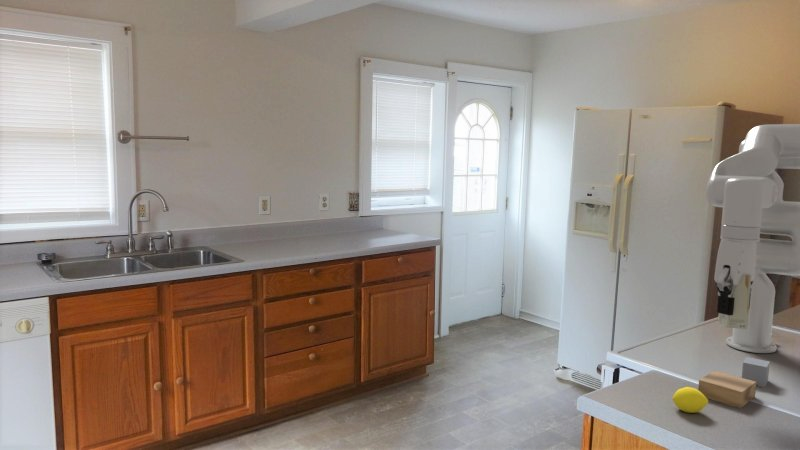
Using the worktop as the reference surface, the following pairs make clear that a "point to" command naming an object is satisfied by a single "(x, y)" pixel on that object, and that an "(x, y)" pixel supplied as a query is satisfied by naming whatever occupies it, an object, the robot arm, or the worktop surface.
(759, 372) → the grey block
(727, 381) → the oak block
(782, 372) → the worktop surface
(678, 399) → the lemon
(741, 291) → the skincare box
